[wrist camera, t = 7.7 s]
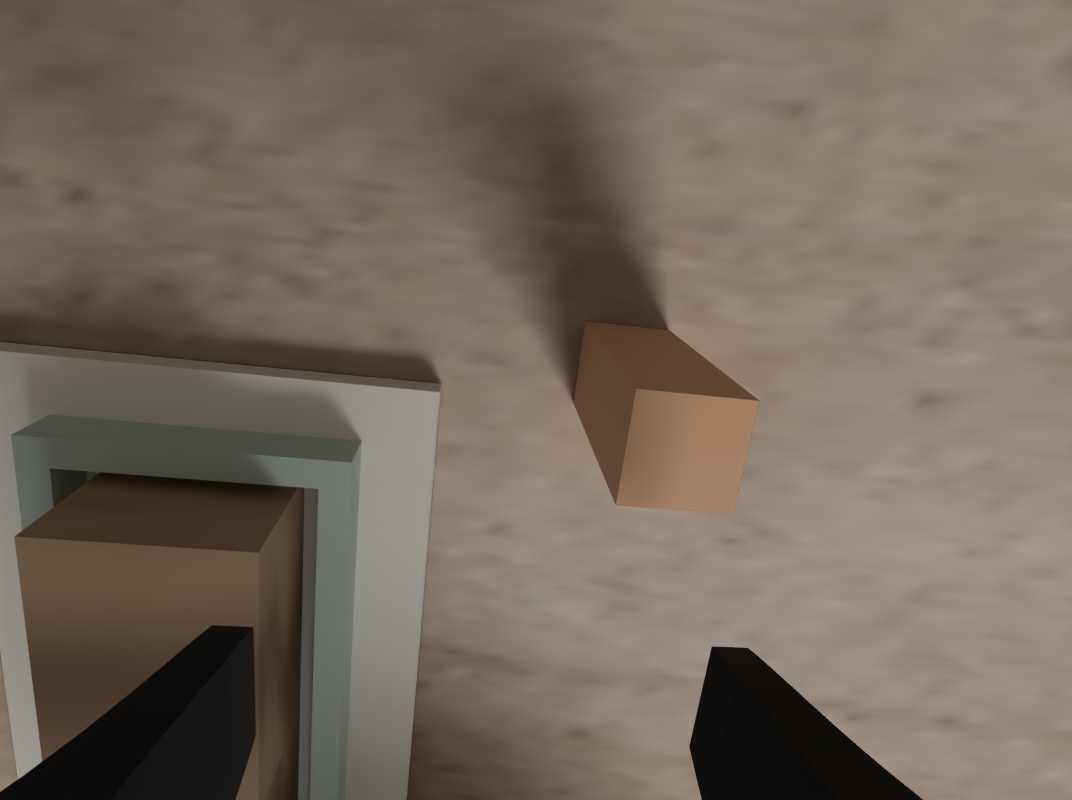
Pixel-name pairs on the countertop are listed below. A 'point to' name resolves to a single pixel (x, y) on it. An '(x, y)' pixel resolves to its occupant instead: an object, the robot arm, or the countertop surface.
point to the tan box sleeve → (165, 601)
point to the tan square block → (662, 419)
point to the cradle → (255, 458)
